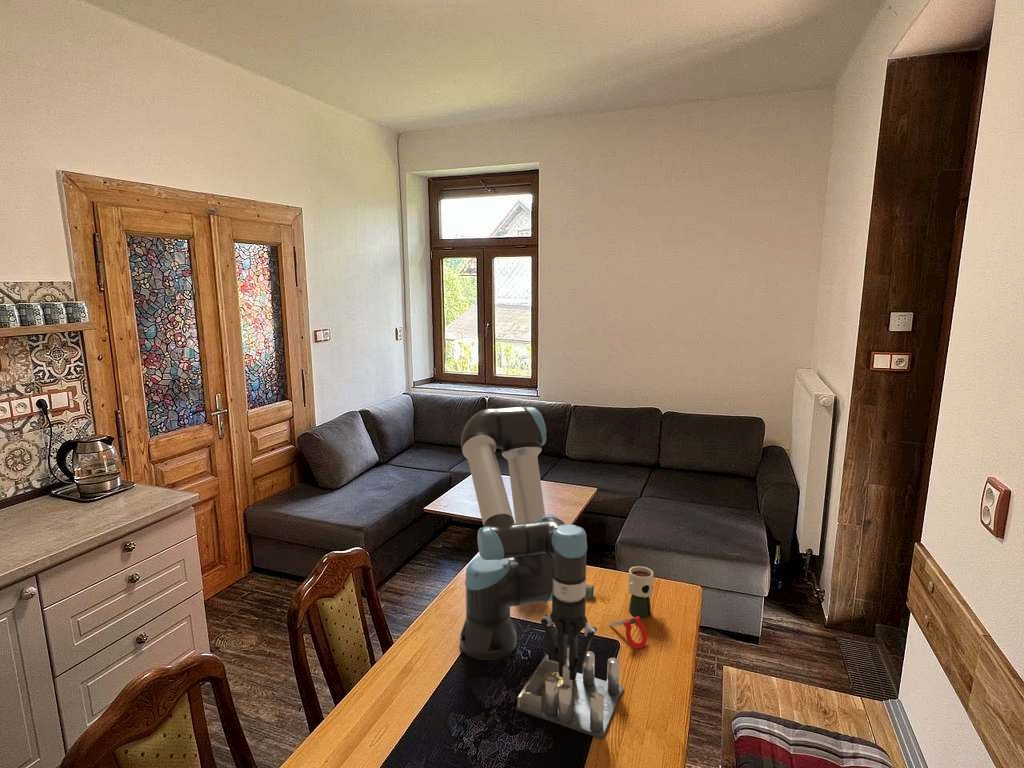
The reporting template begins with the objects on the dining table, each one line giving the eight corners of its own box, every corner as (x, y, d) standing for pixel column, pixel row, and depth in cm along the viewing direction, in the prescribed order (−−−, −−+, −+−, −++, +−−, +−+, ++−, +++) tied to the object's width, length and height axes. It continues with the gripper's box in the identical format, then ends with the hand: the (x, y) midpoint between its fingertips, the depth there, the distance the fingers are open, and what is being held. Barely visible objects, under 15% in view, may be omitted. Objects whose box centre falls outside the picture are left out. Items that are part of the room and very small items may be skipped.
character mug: (639, 625, 159) (640, 582, 157) (618, 615, 164) (619, 573, 162) (660, 611, 166) (662, 570, 164) (640, 601, 171) (641, 561, 169)
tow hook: (633, 651, 146) (623, 622, 148) (609, 653, 154) (600, 626, 156) (651, 643, 149) (641, 614, 152) (627, 645, 157) (618, 618, 160)
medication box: (594, 597, 174) (594, 585, 174) (593, 601, 171) (593, 588, 171) (556, 591, 177) (556, 579, 177) (554, 595, 174) (555, 582, 174)
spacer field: (516, 709, 126) (516, 677, 125) (545, 665, 141) (545, 637, 140) (602, 739, 117) (603, 705, 116) (623, 689, 132) (624, 659, 131)
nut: (539, 695, 129) (539, 683, 129) (548, 680, 134) (548, 669, 134) (559, 702, 127) (559, 690, 127) (568, 686, 132) (568, 675, 132)
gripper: (535, 596, 125) (535, 691, 129) (591, 609, 120) (589, 709, 123) (548, 581, 132) (547, 672, 135) (601, 593, 126) (599, 688, 130)
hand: (567, 690), depth 129 cm, fingers closed
